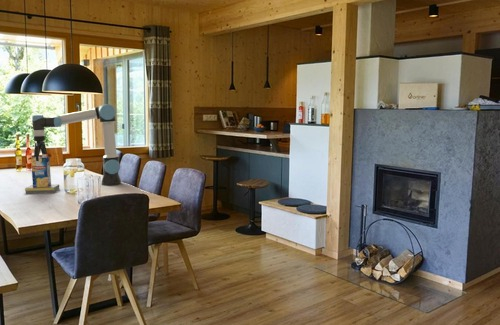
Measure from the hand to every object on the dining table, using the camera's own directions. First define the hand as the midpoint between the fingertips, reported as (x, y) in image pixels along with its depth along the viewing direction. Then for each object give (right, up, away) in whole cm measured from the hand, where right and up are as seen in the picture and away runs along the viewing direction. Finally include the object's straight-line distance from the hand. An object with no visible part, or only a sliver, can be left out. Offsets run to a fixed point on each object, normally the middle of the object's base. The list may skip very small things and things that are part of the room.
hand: (41, 164), depth 331 cm
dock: (0, -20, +3) cm, 21 cm away
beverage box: (-1, -17, +2) cm, 17 cm away
